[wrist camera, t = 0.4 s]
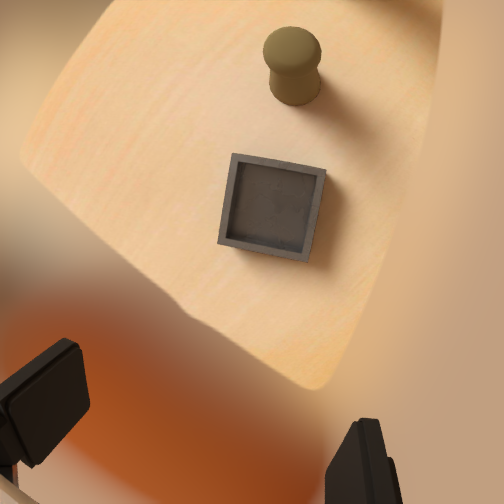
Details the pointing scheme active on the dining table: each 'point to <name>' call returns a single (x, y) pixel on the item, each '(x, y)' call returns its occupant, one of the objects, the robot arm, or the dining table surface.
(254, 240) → the socket
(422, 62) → the dining table surface
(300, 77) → the cork
